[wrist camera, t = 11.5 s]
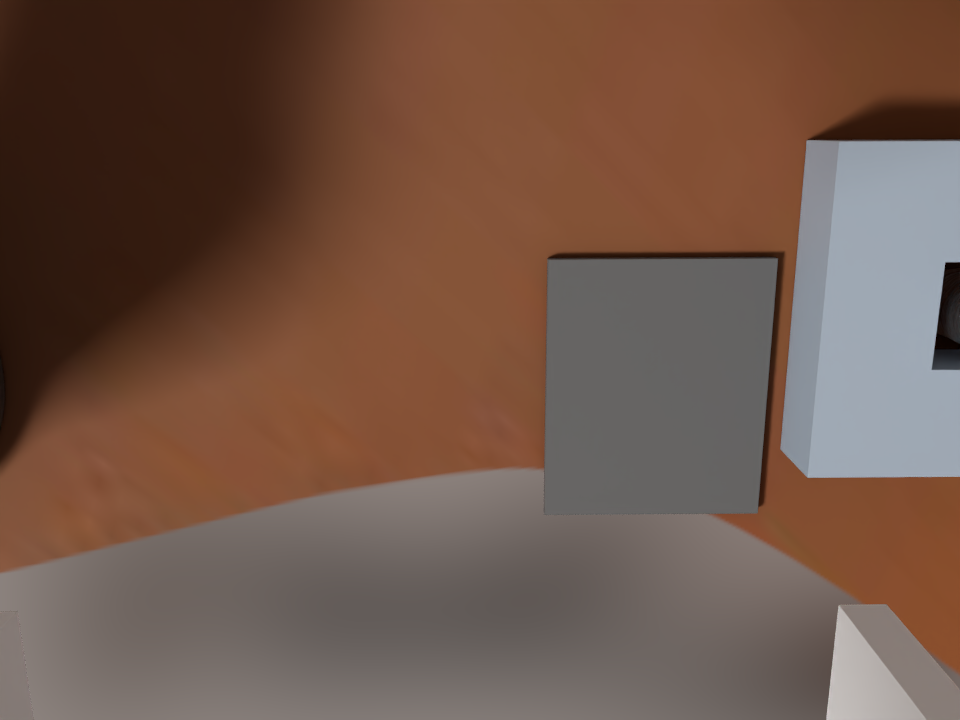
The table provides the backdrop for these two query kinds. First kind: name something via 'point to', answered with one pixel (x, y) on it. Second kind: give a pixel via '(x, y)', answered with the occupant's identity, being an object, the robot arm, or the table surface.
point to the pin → (950, 306)
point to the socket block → (874, 312)
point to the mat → (656, 384)
